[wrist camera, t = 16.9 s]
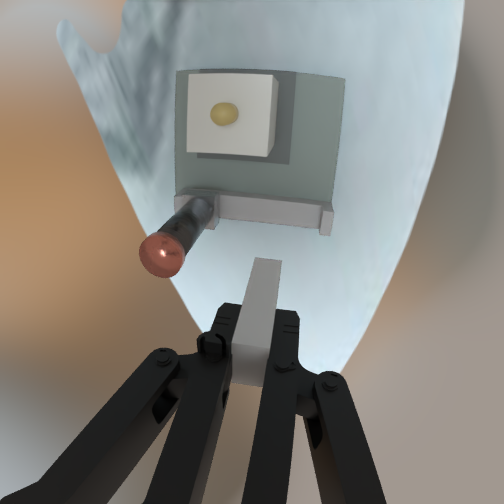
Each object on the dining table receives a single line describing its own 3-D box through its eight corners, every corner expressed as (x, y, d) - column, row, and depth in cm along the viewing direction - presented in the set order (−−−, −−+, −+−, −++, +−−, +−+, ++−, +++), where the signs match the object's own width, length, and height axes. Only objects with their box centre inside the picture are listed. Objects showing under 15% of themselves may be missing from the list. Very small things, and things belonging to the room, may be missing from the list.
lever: (187, 189, 29) (136, 234, 19) (219, 191, 28) (179, 239, 19) (188, 219, 30) (142, 274, 21) (218, 222, 30) (182, 280, 21)
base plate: (181, 72, 26) (164, 68, 22) (342, 80, 24) (350, 76, 21) (181, 204, 33) (165, 218, 29) (326, 218, 31) (330, 236, 28)
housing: (214, 80, 25) (180, 72, 17) (278, 82, 24) (270, 72, 16) (211, 140, 27) (178, 155, 20) (274, 144, 27) (264, 160, 19)
